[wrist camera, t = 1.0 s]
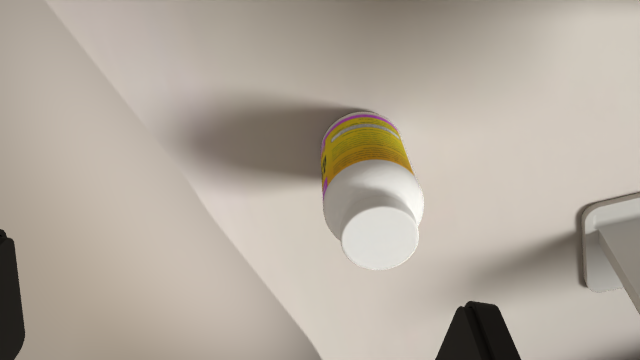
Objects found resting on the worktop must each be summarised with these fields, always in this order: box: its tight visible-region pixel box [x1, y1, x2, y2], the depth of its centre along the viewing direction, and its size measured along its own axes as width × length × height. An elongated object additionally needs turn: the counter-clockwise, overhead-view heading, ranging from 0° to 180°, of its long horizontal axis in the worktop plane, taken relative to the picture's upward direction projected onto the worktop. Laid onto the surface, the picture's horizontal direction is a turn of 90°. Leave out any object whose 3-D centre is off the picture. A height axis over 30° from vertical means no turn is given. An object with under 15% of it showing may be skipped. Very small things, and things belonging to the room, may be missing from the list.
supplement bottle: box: [321, 112, 424, 270], centre depth 36 cm, size 7×7×13 cm
